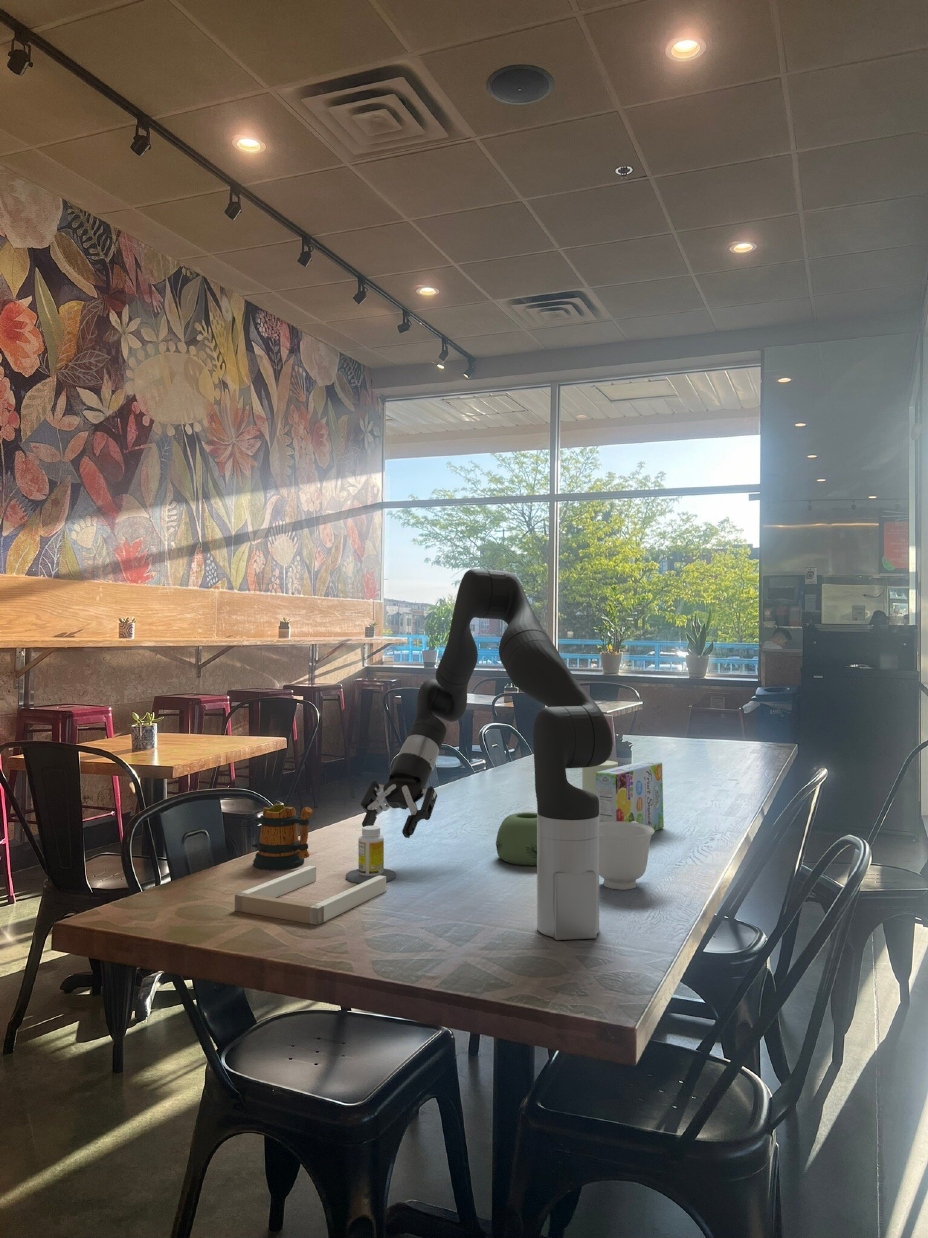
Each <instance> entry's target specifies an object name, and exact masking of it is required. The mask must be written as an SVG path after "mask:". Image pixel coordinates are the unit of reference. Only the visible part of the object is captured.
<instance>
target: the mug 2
mask: <svg viewBox="0 0 928 1238" xmlns="http://www.w3.org/2000/svg"><path fill="white" fill-rule="evenodd" d="M495 847H496V851H497V856H498V857H499V859H501V860H502V861H504V862H506V863H508V864H512V865H520V866H537V812H527V811H526V812H518V813H514V814H513V813H512V814H509V815H508V816H506V817H505V818H504V819H503V820H502V821H501V824H500V826H499V827H498V831H497V835H496V839H495Z"/></svg>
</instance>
